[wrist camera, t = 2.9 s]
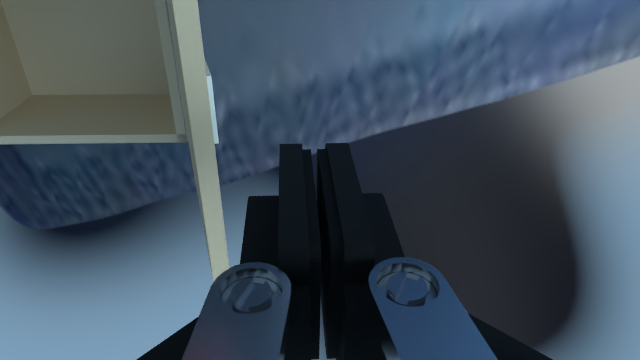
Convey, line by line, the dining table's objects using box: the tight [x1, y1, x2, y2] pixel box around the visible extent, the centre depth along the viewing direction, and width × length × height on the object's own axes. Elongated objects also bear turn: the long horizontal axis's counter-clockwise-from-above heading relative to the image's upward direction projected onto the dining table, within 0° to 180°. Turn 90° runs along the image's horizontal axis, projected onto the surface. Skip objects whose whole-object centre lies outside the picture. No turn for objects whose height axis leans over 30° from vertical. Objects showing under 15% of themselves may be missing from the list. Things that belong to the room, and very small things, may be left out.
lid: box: [167, 0, 229, 283], centre depth 21 cm, size 14×16×1 cm
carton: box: [0, 0, 188, 144], centre depth 29 cm, size 14×16×8 cm
